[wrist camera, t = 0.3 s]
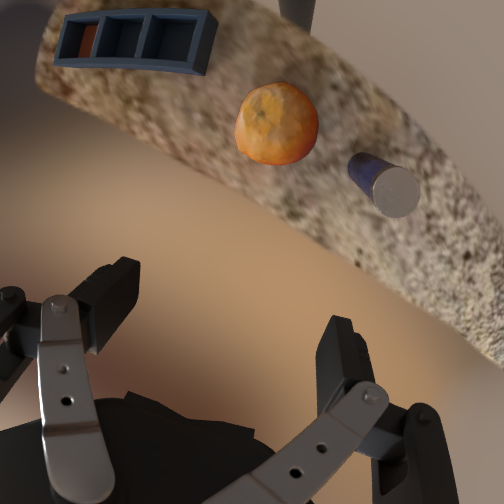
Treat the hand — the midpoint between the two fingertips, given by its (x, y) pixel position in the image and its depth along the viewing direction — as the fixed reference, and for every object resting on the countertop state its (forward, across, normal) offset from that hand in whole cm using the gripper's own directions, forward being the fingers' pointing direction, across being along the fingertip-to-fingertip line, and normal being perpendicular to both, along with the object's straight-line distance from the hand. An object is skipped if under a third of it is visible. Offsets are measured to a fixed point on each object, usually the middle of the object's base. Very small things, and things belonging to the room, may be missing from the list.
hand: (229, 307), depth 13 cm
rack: (+24, +19, -14) cm, 33 cm away
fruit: (+24, +1, -7) cm, 25 cm away
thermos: (+24, -9, -5) cm, 26 cm away
